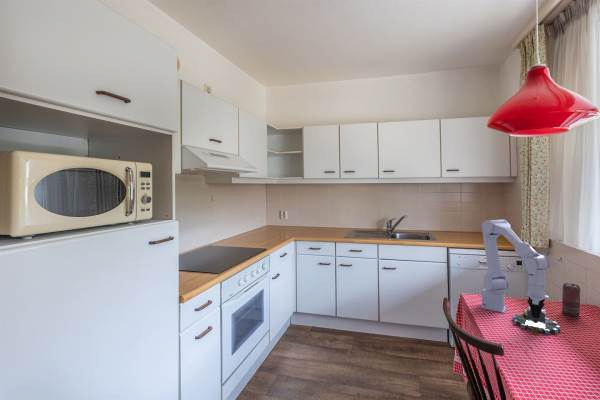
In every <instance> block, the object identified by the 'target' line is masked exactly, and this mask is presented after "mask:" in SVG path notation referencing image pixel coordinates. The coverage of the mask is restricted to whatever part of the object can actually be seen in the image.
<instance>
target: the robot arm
mask: <svg viewBox="0 0 600 400" xmlns="http://www.w3.org/2000/svg"><path fill="white" fill-rule="evenodd" d="M481 229H482V231H481V232H482V237H483V238H482V239H483V245H484V246H483V247H484V252H485V259H486V266H487V271H486V272H485V273H484V274H483V281H482V284H483V287H484V288H482V290H481V309H484V310H489V311H494V312H499V313H505V312H506V309H507V306H505V293H506V292H507V290H508V288H509V286H510V283H509V280H508V278H507V274H506V273H504V272H503V271H502V269H501V262H500V255H499V250H498V241H497V239H498V238H499V237H500V236H503V237H504V238H505V239H506V240H508V242H509V243H511V244H512V245H513V247H514V251H515V252H516V253H517V254H518V256H520V257H521V258H522V259H523V261H524V265H525V267H526V271H527V274H528V277H527V281H528V282H527V293H526V294H527V297H528V299H527V300H526V301H527V304H528V305H529V306H528V307H530V308H531V313H532V317H534V318H539V317H540V312H541V309H542V310H543V308H544V307H545V305H546V304H545V300H546V299H549V295H546V274H547V273H546V270H547V269H549V268H550V265H551V263H550V261H549V260H550V259H548V257H547V256H546V255H543V254H540V253H538V251H536V250H535V249H534V247H532V246H531V244H530V243H528V242H525V241H522V240H521V238H520V237H519V236H518V235H517V234H516V233H515V231H514V230H513V229H512V228H511V223H509V222H508V221H507V220H506V219H504V218H502V219H486V220H484V221H483V223H482V224H481Z"/></svg>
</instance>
